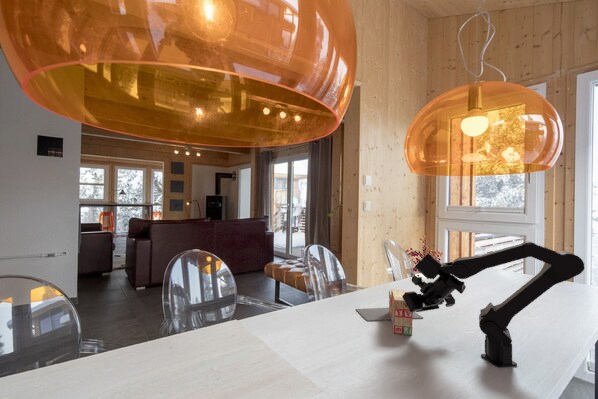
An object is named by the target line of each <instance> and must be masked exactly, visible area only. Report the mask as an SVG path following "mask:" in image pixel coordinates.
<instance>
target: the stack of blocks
mask: <svg viewBox="0 0 598 399" xmlns="http://www.w3.org/2000/svg"><path fill="white" fill-rule="evenodd" d="M405 292H409V290H405V289H393V288H392V289H389V290H388V298H389V300H388V305H389V306H388V308H389V312H390V318H391V320H390V321H391V325H392V331H393V334H395V335H404V336H413V319H412V318H413V312H411V311H410V310H409V308H408V306H407V304H406V303H405V301H404V299H403V297H402V296H403V294H404V293H405Z"/></svg>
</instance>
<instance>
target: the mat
mask: <svg viewBox="0 0 598 399" xmlns="http://www.w3.org/2000/svg"><path fill="white" fill-rule="evenodd" d="M355 311H356V312H357V313H358V314H359V315H360V316H361V317H362V318H363V319H364V320H365V321H366V322H379V321H381V322H382V321H391V318H390V312H389V307H373V308H370V307H369V308H356V309H355ZM419 319H421V320H422V319H424V317H423V316H421V314H419V313H418V312H413V318H412V320H419Z"/></svg>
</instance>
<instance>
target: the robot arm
mask: <svg viewBox="0 0 598 399" xmlns="http://www.w3.org/2000/svg"><path fill="white" fill-rule="evenodd" d="M530 257H531V258H534V259H535V260H537V261H541V262H543V263H544V265H543V266H542V268H541V270H540V271H539V272H538V273H537V274H535V276H533V277H532V278H531V279H530V280H528V281H527V282H526V283H525V284H524V285H522V286H520V288H519V289H517V290H516V291H515V292H514V293H512V294H511V295H510V296H509V297H507V298H506V299H505V300H503V301H502V302H501V303H499V304H496V305H494V304H493V303H492V302H489V303H488V304H487V305H486V306H485V307H484V308H482V309H480V310H479V311H480V313H479V315H478V325H479V326H478V327H479V329H480V331H481V332H482V333H483V334H484V335H485V339H484V353H481V354H480V357H482V358H483V359H485V360H486V361H488V362H490V363H491V364H493V365H494V366H496V367H497V368H502V367H503V368H504V367H513V366H518V363H517V362H515V361H514V360H513V340H512V337H511V333H510V330H509V328H508V326H509V324H510V323H511V321H512V320H513V318H514V317H515V316H516V315H517V314H518V313H520V312H521V311H523V310H524V309H525V308H527V307H528V306H529V305H530V304H531V303H534V301H535V300H537V299H538V298H539V297H541V296H542V295H543V294H545V293H546V292H547V291H548V290H550V289H551V288H552V287H553V286H555V285H558V284H560V283H563V282H566V281H569V280H570V279H573V278H574V277H575V278H576V276H579V275H581V274H582V273H583V272H584V271H585V262H584V261H583V259H582V258H581V257H580V256H578V255H576V254H574V253H572V252H569V251H566V250H558V251H556V250H553V249H550V248H548V247H544V246H541V245H539V244H536V243H534V242H532V241H529V240H528V241H523V242H522V243H519V244H515V245H513V246H509V247H506V248H502V249H499V250H495V251H491V252H488V253H484V254H481V255H476V256H475V255H473V256H472V255H471V256H464V257H463V256H462V257H457V258H455V259H454V260H453V261H450V262H443V263H441V262H440V261H439V260H437V259H436V258H435V257H434V256H433V255H432V254H431V253H430V252H427V254H426V255H425V256H424V257H423V258H421V259H420V260H419V261H418V262H417V264H415V266H413V267H414V269H416V270H417V271H418V273H416V274H413V276H412V277H411V282H412V283H413V284H414V285H415V286H418V287H419V288H420V289H419V291H420V293H417V291H415V290H414V291H412V290H411V291H408V292H405V293H404V294H403V296H402V297H403V299H404V301H405V303H406V304H407V306H408V308H409V310H410V311H411V312H415V313H421V312H425V311H426V312H427V311H434V310H438V309H440V306H442V305H443V304H444V302H445V307H446V308H451V307H453V306H455V304H456V299H455V298H454V296H453V294H452V293H453V292H454V291H455V290H456V291H457V292H458V293H460V294H463V293H464V291H465V289H466V285H465V282H464V281H462V280H466V279H468V278H471V277H473V276H475V275H477V274H479V273H481V272H483V271H484V270H487V269H490V268H494V267H497V266H500V265H504V264H508V263H511V262H512V263H513V262H515V261H519V260H523V259H526V258H530ZM437 276H438V277H437ZM434 279H435V280H434Z"/></svg>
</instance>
